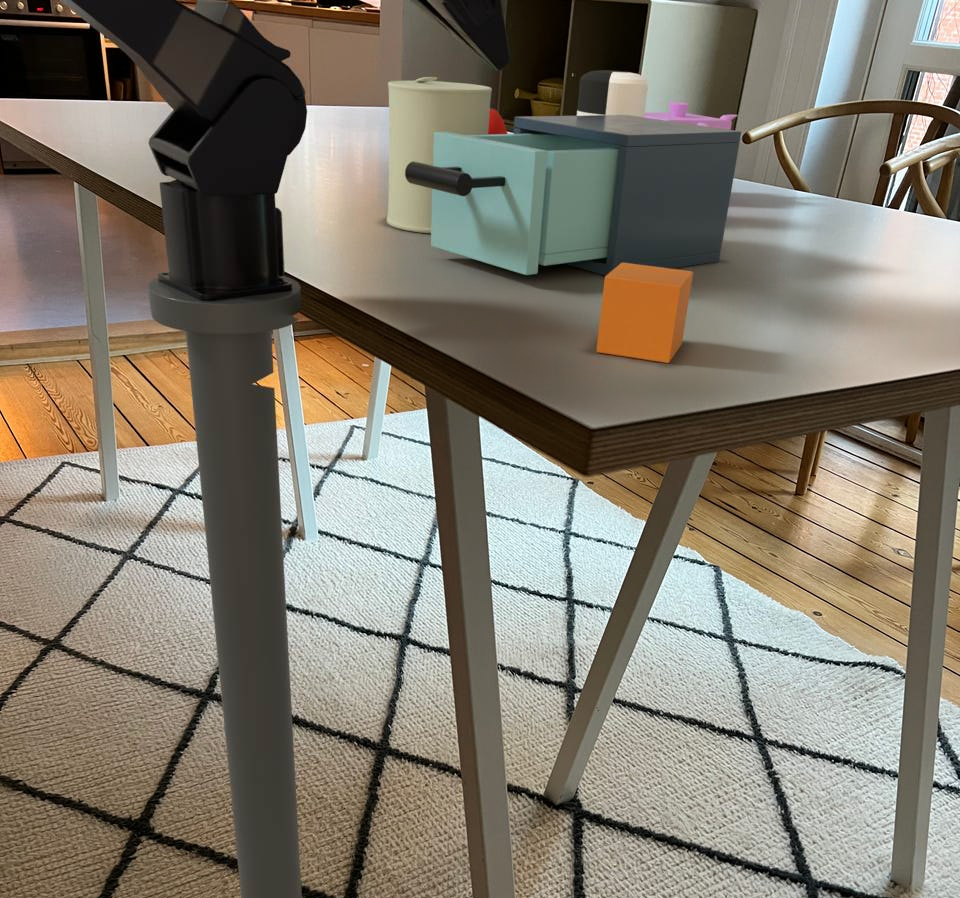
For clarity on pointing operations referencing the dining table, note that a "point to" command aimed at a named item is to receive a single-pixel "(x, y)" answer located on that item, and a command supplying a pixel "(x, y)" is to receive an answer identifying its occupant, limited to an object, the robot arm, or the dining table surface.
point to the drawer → (520, 197)
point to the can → (426, 138)
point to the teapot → (691, 117)
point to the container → (612, 93)
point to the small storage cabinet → (657, 186)
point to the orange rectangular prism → (644, 312)
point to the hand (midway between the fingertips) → (502, 65)
